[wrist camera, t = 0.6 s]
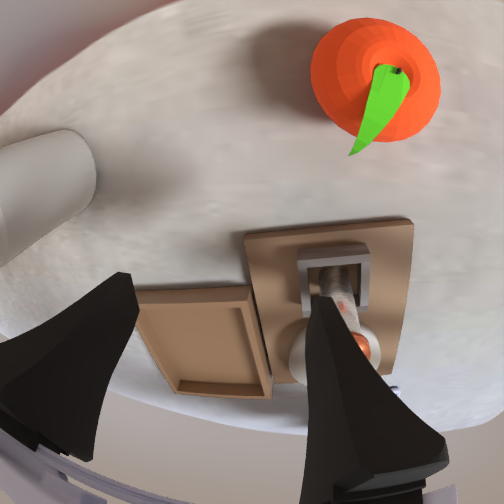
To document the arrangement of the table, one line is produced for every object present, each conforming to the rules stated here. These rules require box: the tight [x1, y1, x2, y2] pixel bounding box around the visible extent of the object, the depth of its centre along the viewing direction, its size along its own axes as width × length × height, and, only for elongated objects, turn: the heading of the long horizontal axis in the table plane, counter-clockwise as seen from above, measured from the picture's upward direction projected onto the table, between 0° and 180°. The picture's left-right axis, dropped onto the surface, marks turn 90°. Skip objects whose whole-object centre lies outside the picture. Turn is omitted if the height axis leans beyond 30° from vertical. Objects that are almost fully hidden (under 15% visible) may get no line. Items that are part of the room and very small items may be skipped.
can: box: [0, 129, 97, 268], centre depth 15 cm, size 8×8×12 cm
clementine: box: [310, 18, 441, 156], centre depth 12 cm, size 8×7×7 cm
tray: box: [135, 286, 273, 399], centre depth 26 cm, size 13×11×2 cm
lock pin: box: [318, 265, 371, 360], centre depth 17 cm, size 3×3×8 cm
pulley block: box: [243, 219, 414, 386], centre depth 22 cm, size 16×12×3 cm
